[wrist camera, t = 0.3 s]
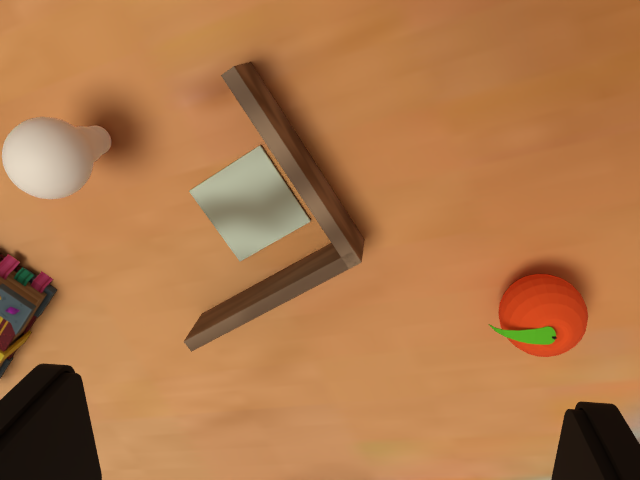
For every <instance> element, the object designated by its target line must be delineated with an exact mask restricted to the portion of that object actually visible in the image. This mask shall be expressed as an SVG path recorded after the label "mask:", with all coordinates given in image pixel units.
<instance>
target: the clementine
mask: <svg viewBox="0 0 640 480" xmlns="http://www.w3.org/2000/svg"><path fill="white" fill-rule="evenodd" d="M499 319H500V324H501V328H502V329H498V328H495V327H493V326H491V325H490V326H491V327H492V328H493V329H494V330H495V331H496V332H498V333H499V334H501V335H503V336H505V337H507V338H508V339H509V341H510V342H511V343H512V344H513V345H515V346H516V347H517V348H519V349H521V350H523V351H524V352H526V353H528V354H531V355H535V356H541V357H550V356H556V355H559V354H562V353H565V352H567V351H569V350H570V349H572V348H573V347H575V346H576V345H577V343H578V342H579V341H580V340H581V339H582V337H583V335H584V333H585V331H586V326H587V320H588V313H587V307H586V305H585V302H584V300H583V298H582V296H581V294H580V293H579V292H578V291H577V290H576V289H575V288H574V287H573V286H572V285H571V284H570V283H569V282H567V281H565V280H563V279H562V278H559V277H556V276H552V275H547V274H534V275H529V276H525V277H523V278H521V279H519V280H517V281H516V282H514V283H513V284H512V285H511V286H510V287H509V288H508V289H507V290H506V292H505V293H504V295H503V297H502V300H501V302H500V306H499Z"/></svg>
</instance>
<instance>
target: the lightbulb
mask: <svg viewBox="0 0 640 480" xmlns="http://www.w3.org/2000/svg"><path fill="white" fill-rule="evenodd" d="M110 147H111V137H110V135H109V133H108V132H107V131H106V130H105V129H104V128H102V127H100V126H96V125H95V126H88V127H85V126H77V127H75V126H73V125H71V124H69V123H67V122H65V121H63V120H60V119H57V118H50V117H36V118H32V119H29V120H26V121H24V122H22V123H21V124H19V125H18V126H16V127H15V128H14V129H13V130H12V131H11V132H10V133H9V135H8V136H7V138H6V140H5V142H4V145H3V150H2V160H3V165H4V168H5V171H6V173H7V175H8V176H9V178H10V179H11V180H12V182H13V183H14V184H15V185H16V186H17V187H18V188H20V189H21V190H22V191H24V192H26V193H28V194H30V195H32V196H35V197H38V198H44V199H59V198H64V197H67V196H70V195H72V194H73V193H75V192H77V191H78V190H80V189H81V188H82V187H83V186H84V184H85V183H86V182H87V181H88V179H89V177H90V175H91V172H92V168H93V162H95V161H97V160H98V159H99V158H100V156H101V155H103V154H104V153H106V152H107V151H108V150H109V149H110Z"/></svg>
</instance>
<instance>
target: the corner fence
mask: <svg viewBox="0 0 640 480" xmlns="http://www.w3.org/2000/svg"><path fill="white" fill-rule="evenodd" d="M221 76H222V78H223V79H224V81H225V82H226V84H227V85H228V87H229V88H230V90H231V91H232V93H233V94H234V96H235V97H236V99H237V100H238V102H239V103H240V105H241V106H242V108H243V109H244V111H245V112H246V114H247V115H248V117H249V118H250V120H251V122H252V123H253V125H254V126H255V128H256V129H257V131H258V132H259V134H260V135H261V137H262V138H263V140H264V141H265V143H266V144H267V146H268V147H269V149H270V150H271V152H272V153H273V155H274V156H275V158H276V159H277V161H278V162H279V164H280V165H281V167H282V168H283V170H284V171H285V173H286V174H287V176H288V177H289V179H290V181H291V182H292V184H293V185H294V187H295V188H296V190H297V191H298V193H299V194H300V196H301V197H302V199H303V200H304V202H305V203H306V205H307V206H308V208H309V209H310V211H311V212H312V214H313V215H314V217H315V218H316V220H317V221H318V223H319V224H320V226H321V227H322V229H323V230H324V232H325V233H326V235H327V236H328V238H329V240H330V241H331V244H329V245H327V246H325V247H323V248H321V249H320V250H318V251H316V252H314V253H312V254H311V255H309V256H307V257H305V258H303V259H301V260H300V261H298V262H296V263H294V264H292V265H290V266H289V267H287V268H285V269H283V270H281V271H279V272H278V273H276V274H274V275H272V276H270V277H268V278H267V279H265V280H263V281H261V282H259V283H258V284H256V285H254V286H252V287H250V288H248V289H247V290H245V291H243V292H241V293H239V294H237V295H236V296H234V297H232V298H230V299H228V300H226V301H225V302H223V303H221V304H219V305H217V306H215V307H214V308H212V309H210V310H208V311H206V312H205V313H203V314H201V316H200V317H199V319H198V320H197V322H196V323H195V325H194V327H193V328H192V330H191V331H190V333H189V334H188V336H187V337H186V339H185V340H184V343H185V344H186V345H187V346H188V348H189V349H190V350H191V351H193V350H195V349H197V348H199V347H201V346H203V345H205V344H207V343H209V342H211V341H212V340H214V339H216V338H218V337H220V336H222V335H224V334H226V333H228V332H230V331H232V330H233V329H235V328H237V327H239V326H241V325H243V324H245V323H247V322H249V321H251V320H253V319H254V318H256V317H258V316H260V315H262V314H264V313H266V312H268V311H270V310H272V309H274V308H275V307H277V306H279V305H281V304H283V303H285V302H287V301H289V300H291V299H293V298H295V297H297V296H298V295H300V294H302V293H304V292H306V291H308V290H310V289H312V288H314V287H316V286H318V285H319V284H321V283H323V282H325V281H327V280H329V279H331V278H333V277H335V276H337V275H339V274H340V273H342V272H344V271H346V270H348V269H350V268H352V267H354V266H356V265H358V264H360V263H361V262H362V255H363V246H364V238H363V237H362V235H361V234H360V232H359V231H358V229H357V227H356V226H355V224H354V223H353V221H352V220H351V218H350V216H349V215H348V213H347V212H346V210H345V209H344V207H343V206H342V204H341V202H340V201H339V199H338V198H337V196H336V195H335V193H334V191H333V190H332V188H331V187H330V185H329V184H328V182H327V181H326V179H325V177H324V176H323V174H322V173H321V171H320V170H319V168H318V166H317V165H316V163H315V162H314V160H313V159H312V157H311V156H310V154H309V152H308V151H307V149H306V148H305V146H304V145H303V143H302V141H301V140H300V138H299V137H298V135H297V134H296V132H295V131H294V129H293V127H292V126H291V124H290V123H289V121H288V120H287V118H286V116H285V115H284V113H283V112H282V110H281V109H280V107H279V106H278V104H277V102H276V101H275V99H274V98H273V96H272V95H271V93H270V91H269V90H268V88H267V87H266V85H265V84H264V82H263V81H262V79H261V77H260V76H259V74H258V73H257V71H256V70H255V68H254V67H253V65H252V63H251V62H249V63H245V64H241V65H237V66H234V67H232V68H231V69H229V70H228V71H227V72H225V73H224V74H222V75H221ZM189 192H190V193H191V195H192V196H193V197H194V199H195V200H196V202H197V203H198V204H199V206H200V207H201V208H202V210H203V211H204V213H205V214H206V215H207V217H208V218H209V220H210V221H211V222H212V224H213V225H214V226H215V228H216V229H217V231H218V232H219V233H220V235H221V236H222V237H223V239H224V240H225V242H226V243H227V244H228V246H229V247H230V248H231V250H232V251H233V253H234V254H235V255H236V257H237V258H238V260H239V261H242V260H244V259H245V258H247V257H249V256H251V255H252V254H254V253H256V252H258V251H259V250H261V249H263V248H265V247H267V246H268V245H270V244H272V243H274V242H275V241H277V240H279V239H281V238H282V237H284V236H286V235H288V234H289V233H291V232H293V231H295V230H296V229H298V228H300V227H302V226H303V225H305V224H307V223H309V222H310V221H311V220H310V218H309V217H308V215H307V214H306V212H305V211H304V209H303V208H302V206H301V205H300V203H299V202H298V200H297V199H296V197H295V196H294V194H293V193H292V191H291V190H290V188H289V187H288V185H287V184H286V182H285V181H284V179H283V178H282V176H281V175H280V173H279V172H278V170H277V169H276V167H275V166H274V164H273V162H272V161H271V159H270V158H269V156H268V155H267V153H266V152H265V150H264V149H263V147H262V146H261V145H260V146H258V147H257V148H255V149H254V150H252V151H250V152H249V153H247V154H246V155H244V156H243V157H241V158H240V159H238V160H236V161H235V162H233V163H232V164H230V165H229V166H227V167H226V168H224V169H222V170H221V171H219V172H218V173H216V174H215V175H213V176H212V177H210V178H209V179H207V180H205V181H204V182H202V183H201V184H199V185H198V186H196V187H195V188H193V189H191V190H190V191H189Z"/></svg>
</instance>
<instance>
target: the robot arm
mask: <svg viewBox="0 0 640 480" xmlns="http://www.w3.org/2000/svg"><path fill="white" fill-rule="evenodd" d="M0 480H102V474H101V469H100V464H99V459H98V455H97V450H96V445H95V440H94V435H93V430H92V426H91V421H90V416H89V411H88V406H87V402H86V397H85V392H84V387H83V382H82V378H81V376H80V375H79V374H77V373H75V371H74V369H73V368H72V367H71V366H68V365H56V364H39V365H38V366H36V367H35V368H34V369H33V370H32V371H31V372H30V373H29V374H27V375H26V376H25V377H24V378H23V379H22V380H21V381H20V382H19V383H18V384H17V385H16V386H15V387H14V388H13V389H12V390H11V391H10V392H8V393H7V394H6V395H5V396H4V397H3V398H2V399H1V400H0ZM551 480H640V444H639V442H638V441H637V439H636V438H635V436H634V434H633V433H632V431H631V429H630V428H629V426H628V424H627V423H626V421H625V419H624V418H623V416H622V414H621V413H620V411H619V410H618V408H617V407H616V406H615V405H613V404H607V403H593V402H578V403H577V405H576V407H575V409H568V410H567V411H566V412H565V415H564V420H563V425H562V430H561V435H560V440H559V445H558V450H557V454H556V459H555V464H554V469H553V474H552V479H551Z"/></svg>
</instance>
